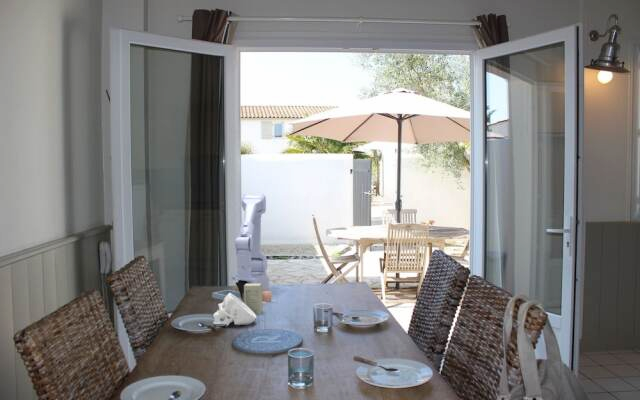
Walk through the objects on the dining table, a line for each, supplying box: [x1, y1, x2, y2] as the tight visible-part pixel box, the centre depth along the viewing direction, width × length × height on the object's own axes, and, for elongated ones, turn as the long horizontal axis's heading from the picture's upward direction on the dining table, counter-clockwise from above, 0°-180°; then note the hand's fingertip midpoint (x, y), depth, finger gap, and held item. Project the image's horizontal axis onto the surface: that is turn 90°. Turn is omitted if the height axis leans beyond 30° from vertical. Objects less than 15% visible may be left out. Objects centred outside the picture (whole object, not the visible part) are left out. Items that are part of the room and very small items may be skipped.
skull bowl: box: [212, 293, 257, 327], centre depth 215 cm, size 10×14×12 cm
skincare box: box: [244, 283, 264, 318], centre depth 226 cm, size 6×4×12 cm
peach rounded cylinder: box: [262, 289, 272, 303], centre depth 245 cm, size 4×4×4 cm
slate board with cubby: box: [211, 289, 278, 305], centre depth 249 cm, size 15×24×4 cm, turn 47°
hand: (244, 299), depth 244 cm, fingers closed
